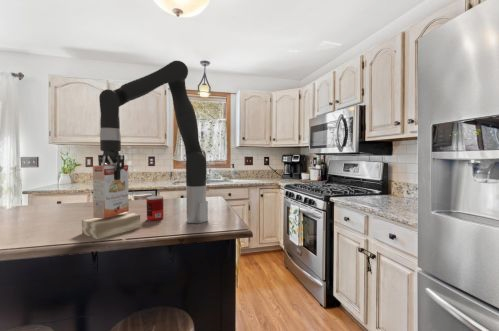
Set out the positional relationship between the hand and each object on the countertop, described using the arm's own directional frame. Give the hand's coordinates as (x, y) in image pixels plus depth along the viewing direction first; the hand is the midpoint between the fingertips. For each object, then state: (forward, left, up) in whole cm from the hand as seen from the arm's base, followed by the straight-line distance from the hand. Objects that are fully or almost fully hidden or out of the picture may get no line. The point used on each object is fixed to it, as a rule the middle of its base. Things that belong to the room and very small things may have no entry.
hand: (111, 179), depth 105 cm
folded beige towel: (0, 0, -22) cm, 22 cm away
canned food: (-1, -22, -22) cm, 31 cm away
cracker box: (0, 0, -15) cm, 15 cm away
